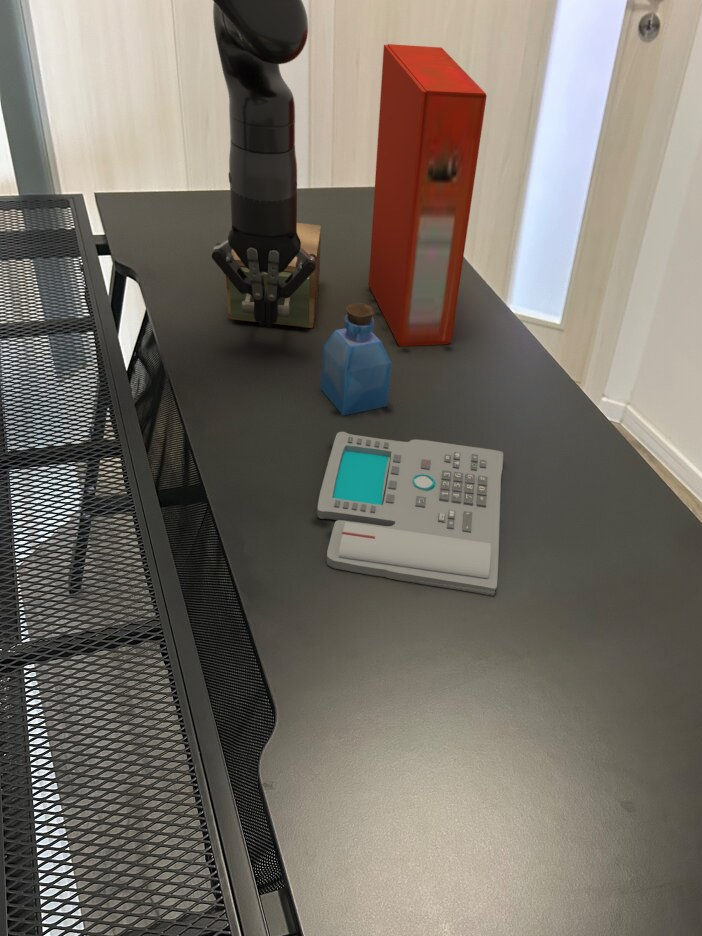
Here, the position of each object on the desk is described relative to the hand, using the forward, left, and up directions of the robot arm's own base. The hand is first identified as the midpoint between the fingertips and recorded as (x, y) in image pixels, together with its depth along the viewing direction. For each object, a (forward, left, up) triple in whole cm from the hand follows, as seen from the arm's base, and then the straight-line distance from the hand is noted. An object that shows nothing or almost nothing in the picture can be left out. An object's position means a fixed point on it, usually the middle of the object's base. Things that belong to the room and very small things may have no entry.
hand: (266, 323), depth 110 cm
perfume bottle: (+12, -9, -4) cm, 15 cm away
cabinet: (0, +14, -4) cm, 15 cm away
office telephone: (+19, -30, -4) cm, 35 cm away
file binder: (+19, +14, -4) cm, 24 cm away
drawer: (0, +10, -3) cm, 10 cm away
